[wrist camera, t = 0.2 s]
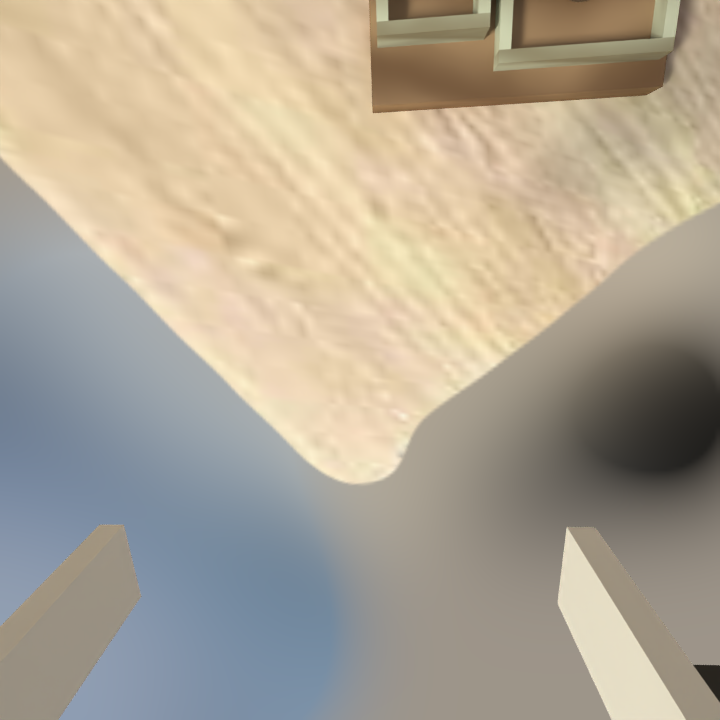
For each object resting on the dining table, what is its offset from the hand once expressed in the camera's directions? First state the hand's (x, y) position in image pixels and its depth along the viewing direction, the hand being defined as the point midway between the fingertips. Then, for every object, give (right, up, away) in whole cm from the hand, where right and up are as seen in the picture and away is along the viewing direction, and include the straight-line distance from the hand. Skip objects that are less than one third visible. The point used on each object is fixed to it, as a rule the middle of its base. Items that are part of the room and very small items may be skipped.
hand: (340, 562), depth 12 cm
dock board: (+12, +33, +18) cm, 40 cm away
